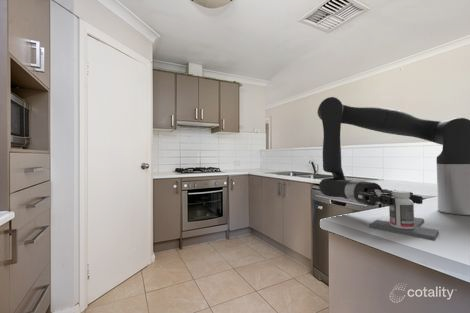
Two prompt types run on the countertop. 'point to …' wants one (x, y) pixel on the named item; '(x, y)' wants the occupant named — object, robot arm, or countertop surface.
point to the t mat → (414, 232)
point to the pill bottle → (402, 211)
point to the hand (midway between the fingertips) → (408, 200)
